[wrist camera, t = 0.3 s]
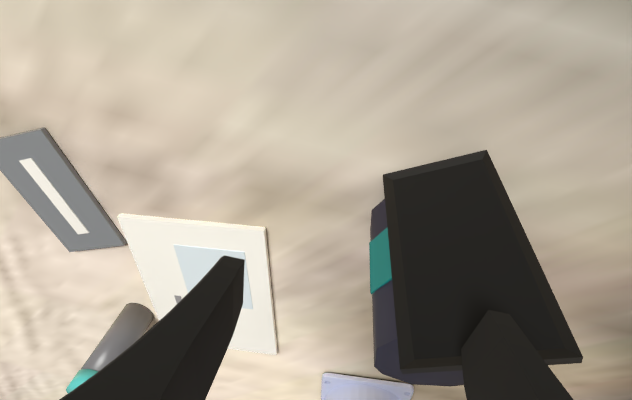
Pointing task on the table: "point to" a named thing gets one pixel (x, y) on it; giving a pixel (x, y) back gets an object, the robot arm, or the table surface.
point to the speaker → (454, 271)
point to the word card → (56, 191)
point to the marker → (115, 341)
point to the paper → (204, 269)
